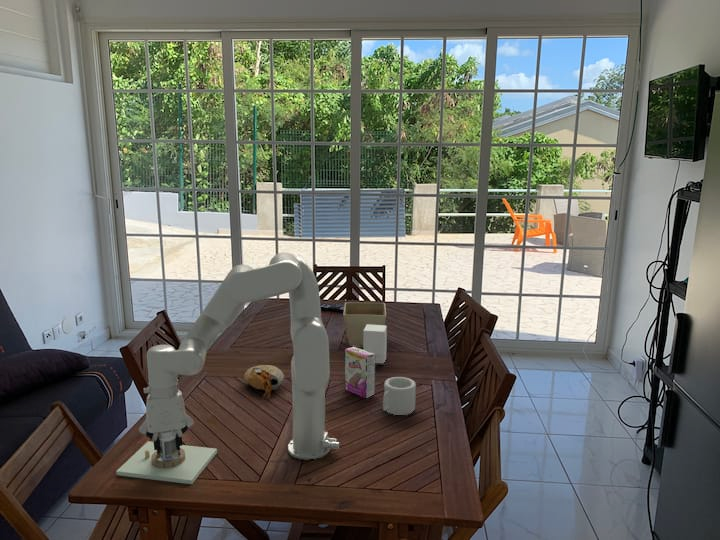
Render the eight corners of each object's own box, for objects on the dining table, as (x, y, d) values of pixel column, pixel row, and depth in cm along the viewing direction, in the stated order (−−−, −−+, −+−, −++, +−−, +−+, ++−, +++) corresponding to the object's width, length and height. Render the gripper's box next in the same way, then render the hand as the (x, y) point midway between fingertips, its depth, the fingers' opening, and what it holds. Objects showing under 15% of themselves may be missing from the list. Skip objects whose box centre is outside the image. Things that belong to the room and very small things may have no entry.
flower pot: (385, 351, 245) (386, 314, 242) (343, 350, 245) (343, 314, 242) (384, 336, 264) (385, 302, 260) (344, 336, 264) (344, 302, 260)
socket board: (217, 452, 162) (216, 442, 161) (191, 484, 146) (191, 473, 146) (148, 444, 166) (147, 435, 165) (116, 475, 150) (115, 464, 149)
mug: (398, 399, 198) (398, 373, 196) (421, 409, 190) (422, 382, 188) (371, 411, 188) (372, 384, 186) (395, 422, 181) (396, 394, 179)
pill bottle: (180, 452, 157) (179, 425, 156) (172, 461, 153) (170, 433, 151) (165, 450, 158) (163, 424, 156) (156, 459, 154) (154, 432, 152)
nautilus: (283, 403, 195) (240, 406, 194) (285, 375, 215) (247, 378, 214) (281, 383, 193) (238, 386, 192) (284, 357, 213) (245, 359, 212)
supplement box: (386, 358, 237) (387, 325, 233) (384, 366, 228) (384, 331, 225) (366, 356, 238) (366, 323, 235) (362, 364, 229) (363, 330, 226)
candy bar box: (343, 390, 204) (344, 348, 201) (353, 386, 208) (353, 345, 204) (366, 400, 197) (366, 356, 193) (375, 395, 200) (376, 353, 197)
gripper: (130, 400, 145) (135, 462, 149) (197, 391, 151) (200, 451, 155) (131, 388, 152) (136, 448, 156) (195, 380, 157) (198, 438, 161)
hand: (168, 449), depth 155 cm, fingers closed on pill bottle, 4 cm apart
